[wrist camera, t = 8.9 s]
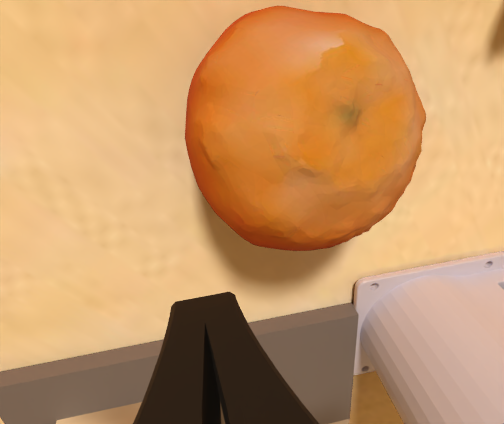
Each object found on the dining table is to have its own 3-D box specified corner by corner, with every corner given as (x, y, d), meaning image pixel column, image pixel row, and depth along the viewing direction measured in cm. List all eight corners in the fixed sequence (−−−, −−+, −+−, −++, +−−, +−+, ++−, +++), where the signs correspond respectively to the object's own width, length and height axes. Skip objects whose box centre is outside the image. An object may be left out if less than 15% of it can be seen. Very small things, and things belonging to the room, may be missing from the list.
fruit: (142, 221, 16) (174, 226, 9) (186, 43, 17) (249, -91, 10) (310, 258, 19) (442, 286, 12) (342, 103, 20) (486, 35, 12)
